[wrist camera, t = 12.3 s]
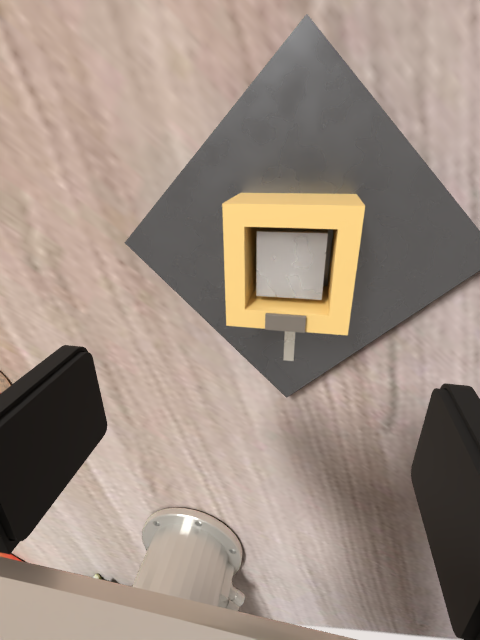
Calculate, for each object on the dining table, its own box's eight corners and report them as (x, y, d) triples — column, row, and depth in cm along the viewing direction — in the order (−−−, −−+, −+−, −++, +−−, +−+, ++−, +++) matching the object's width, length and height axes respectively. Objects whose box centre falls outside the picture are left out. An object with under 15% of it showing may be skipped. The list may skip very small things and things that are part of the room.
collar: (356, 193, 22) (365, 206, 18) (343, 302, 26) (348, 337, 21) (240, 192, 24) (220, 204, 19) (241, 296, 27) (225, 327, 22)
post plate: (490, 250, 24) (533, 277, 19) (288, 387, 31) (281, 430, 27) (307, 22, 20) (303, -16, 16) (133, 238, 28) (95, 257, 23)
